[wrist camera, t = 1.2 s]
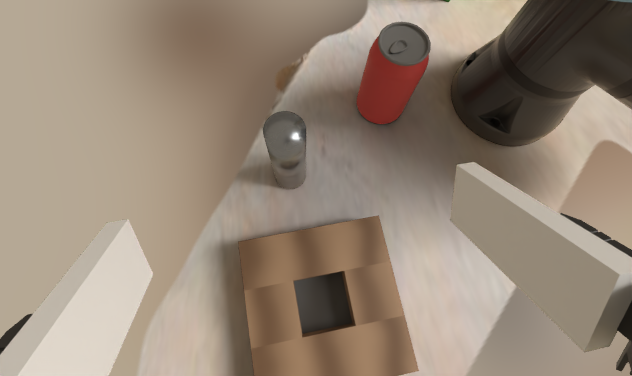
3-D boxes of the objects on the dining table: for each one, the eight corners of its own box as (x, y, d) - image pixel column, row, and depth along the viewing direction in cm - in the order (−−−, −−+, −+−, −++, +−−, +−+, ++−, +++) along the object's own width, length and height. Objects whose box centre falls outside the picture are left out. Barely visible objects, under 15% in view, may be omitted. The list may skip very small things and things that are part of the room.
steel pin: (303, 158, 41) (302, 108, 30) (308, 186, 40) (309, 146, 29) (272, 163, 41) (260, 114, 29) (277, 191, 40) (266, 152, 28)
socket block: (372, 221, 39) (378, 215, 35) (407, 362, 34) (418, 370, 31) (244, 245, 37) (238, 241, 34) (262, 396, 33) (258, 408, 29)
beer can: (346, 101, 44) (360, 36, 33) (380, 77, 45) (406, 7, 34) (376, 134, 43) (402, 79, 31) (411, 109, 44) (449, 47, 32)
